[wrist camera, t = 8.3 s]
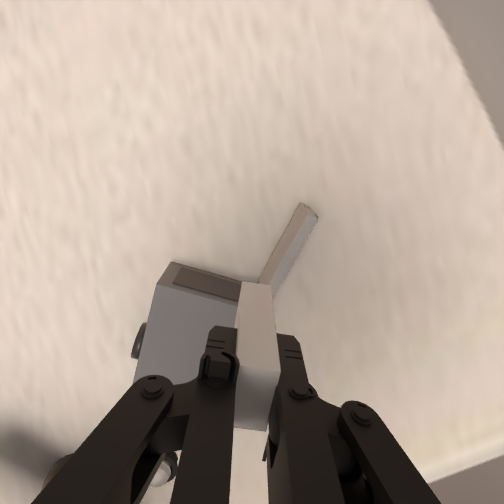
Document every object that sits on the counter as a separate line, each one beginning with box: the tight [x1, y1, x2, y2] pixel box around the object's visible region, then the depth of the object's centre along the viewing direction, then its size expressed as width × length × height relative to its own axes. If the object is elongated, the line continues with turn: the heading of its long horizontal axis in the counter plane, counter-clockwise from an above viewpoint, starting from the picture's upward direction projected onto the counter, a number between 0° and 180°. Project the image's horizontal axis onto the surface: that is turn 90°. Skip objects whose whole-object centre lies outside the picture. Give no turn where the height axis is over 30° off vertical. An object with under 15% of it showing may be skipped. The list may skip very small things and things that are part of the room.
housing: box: [131, 262, 242, 385], centre depth 40 cm, size 16×13×7 cm
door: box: [258, 203, 318, 299], centre depth 36 cm, size 2×12×6 cm, turn 154°
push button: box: [149, 451, 178, 487], centre depth 44 cm, size 7×5×10 cm
